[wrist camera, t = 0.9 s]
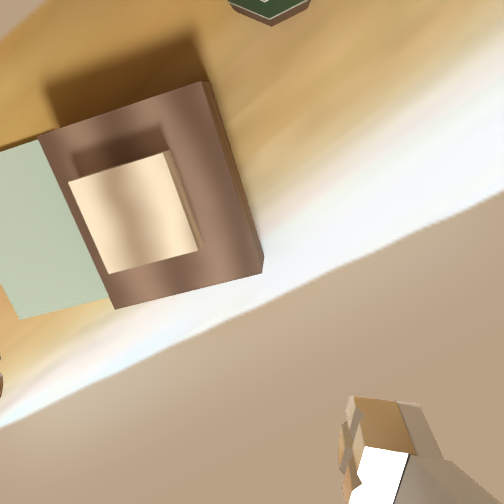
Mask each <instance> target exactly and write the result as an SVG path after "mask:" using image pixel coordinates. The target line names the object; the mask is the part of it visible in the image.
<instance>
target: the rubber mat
mask: <svg viewBox="0 0 504 504" xmlns="http://www.w3.org/2000/svg"><path fill="white" fill-rule="evenodd" d="M0 283H1V285H2V287H3V289H4V291H5V292H6V294H7V296H8V298H9V300H10V302H11V304H12V305H13V307H14V309H15V311H16V313H17V315H18V317H19V318H20V320H22V319H25V318H29V317H33V316H37V315H41V314H45V313H49V312H53V311H57V310H61V309H65V308H69V307H73V306H77V305H81V304H85V303H89V302H93V301H97V300H100V299H104V298H108V297H109V295H108V293H107V291H106V289H105V287H104V284H103V282H102V280H101V278H100V275H99V273H98V271H97V269H96V267H95V264H94V262H93V260H92V258H91V256H90V253H89V251H88V249H87V247H86V244H85V242H84V240H83V238H82V236H81V233H80V231H79V229H78V227H77V225H76V222H75V220H74V218H73V216H72V214H71V211H70V209H69V207H68V205H67V202H66V200H65V198H64V196H63V194H62V191H61V189H60V187H59V185H58V183H57V180H56V178H55V176H54V174H53V171H52V169H51V167H50V165H49V163H48V160H47V158H46V156H45V154H44V152H43V149H42V147H41V145H40V143H39V140H35V141H32V142H29V143H26V144H23V145H20V146H17V147H14V148H11V149H8V150H5V151H2V152H0Z"/></svg>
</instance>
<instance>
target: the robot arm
mask: <svg viewBox="0 0 504 504" xmlns="http://www.w3.org/2000/svg"><path fill="white" fill-rule="evenodd" d="M0 360H1V357H0ZM2 389H3V376H2V374H1V373H0V397H1V395H2ZM345 411H346V416H347V421H346V422H345V423H344V424H342V425H341V430H340V434H339V441H338V462H339V469H340V471H341V472H342V473H343V474H344V475H345V478H344V481H343V485H342V490H343V496H344V503H345V504H501V503H500V502H499V501H498V500H497V499H495V498H494V497H493V496H492V495H491V494H490V493H488V492H487V491H486V490H485V489H484V488H483V487H481V486H480V485H479V484H478V483H476V482H475V481H474V480H473V479H472V478H471V477H470V476H468V475H467V474H466V473H465V472H464V471H462V470H461V469H460V468H459V467H458V466H456V465H455V464H454V463H453V462H452V461H448V460H444V458H443V456H442V454H441V451H440V449H439V447H438V445H437V443H436V440H435V438H434V436H433V434H432V431H431V429H430V427H429V425H428V422H427V420H426V418H425V416H424V413H423V411H422V409H421V407H420V406H419V405H418V404H417V403H410V402H402V401H388V400H380V399H374V398H366V397H359V396H352V395H350V397H349V399H348V401H347V405H346V408H345Z"/></svg>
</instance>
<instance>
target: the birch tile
mask: <svg viewBox="0 0 504 504" xmlns="http://www.w3.org/2000/svg"><path fill="white" fill-rule="evenodd" d="M68 184H69V186H70V188H71V190H72V193H73V195H74V197H75V199H76V202H77V204H78V206H79V208H80V211H81V213H82V215H83V217H84V220H85V222H86V224H87V226H88V229H89V231H90V233H91V235H92V238H93V240H94V242H95V245H96V247H97V249H98V251H99V254H100V256H101V258H102V260H103V263H104V265H105V267H106V269H107V272H108V274H111V273H115V272H119V271H123V270H126V269H130V268H134V267H138V266H142V265H145V264H149V263H153V262H157V261H160V260H164V259H168V258H172V257H176V256H179V255H183V254H187V253H191V252H195V251H198V250H199V248H200V247H201V245H202V243H203V241H202V238H201V235H200V233H199V230H198V227H197V224H196V221H195V219H194V216H193V213H192V210H191V207H190V205H189V202H188V199H187V196H186V193H185V191H184V188H183V185H182V182H181V179H180V177H179V174H178V171H177V168H176V165H175V162H174V160H173V157H172V154H171V151H170V149H169V150H166V151H163V152H160V153H157V154H153V155H150V156H147V157H144V158H141V159H137V160H134V161H131V162H128V163H124V164H121V165H118V166H115V167H112V168H108V169H105V170H102V171H99V172H96V173H92V174H89V175H86V176H83V177H80V178H77V179H75V180H72V181H70V182H68Z"/></svg>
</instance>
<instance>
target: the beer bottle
mask: <svg viewBox="0 0 504 504" xmlns="http://www.w3.org/2000/svg"><path fill="white" fill-rule="evenodd" d="M310 1H311V0H228V2H229V3H230V5H231V6H232V8H233V9H234V10H235V11H236V12H238V13H241V14H243V15H246V16H248V17H250V18H253V19H255V20H257V21H260V22H262V23H264V24H267V25H269V26H271V27H272V26H274V25H276V24H278V23H280V22H282V21H284V20H286V19H288V18H290V17H292V16H294V15H296V14H298V13H300V12H302V11H304V10H306V9H307V8H308V6H309V3H310Z"/></svg>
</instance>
